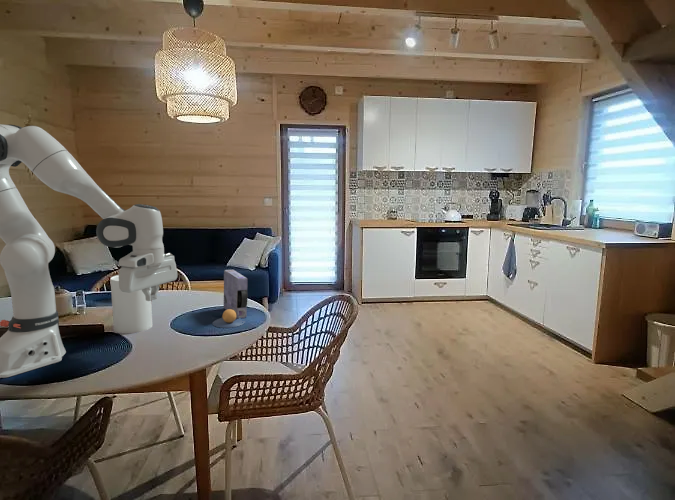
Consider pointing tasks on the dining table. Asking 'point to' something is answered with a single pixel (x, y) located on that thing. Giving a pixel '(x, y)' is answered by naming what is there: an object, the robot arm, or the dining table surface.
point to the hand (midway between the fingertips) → (151, 299)
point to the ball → (229, 315)
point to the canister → (130, 309)
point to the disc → (223, 324)
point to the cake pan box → (235, 293)
